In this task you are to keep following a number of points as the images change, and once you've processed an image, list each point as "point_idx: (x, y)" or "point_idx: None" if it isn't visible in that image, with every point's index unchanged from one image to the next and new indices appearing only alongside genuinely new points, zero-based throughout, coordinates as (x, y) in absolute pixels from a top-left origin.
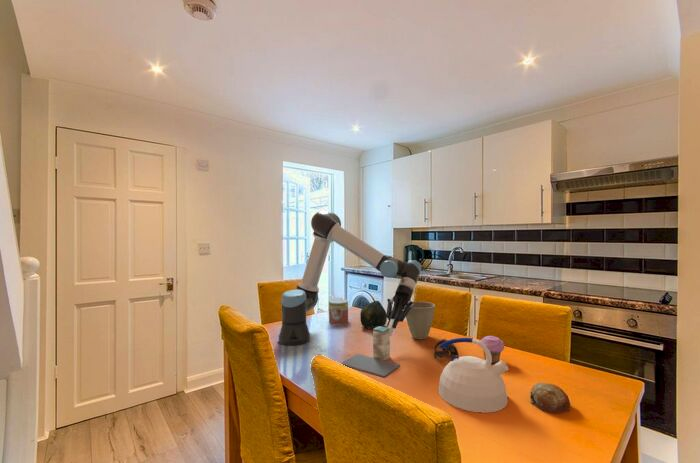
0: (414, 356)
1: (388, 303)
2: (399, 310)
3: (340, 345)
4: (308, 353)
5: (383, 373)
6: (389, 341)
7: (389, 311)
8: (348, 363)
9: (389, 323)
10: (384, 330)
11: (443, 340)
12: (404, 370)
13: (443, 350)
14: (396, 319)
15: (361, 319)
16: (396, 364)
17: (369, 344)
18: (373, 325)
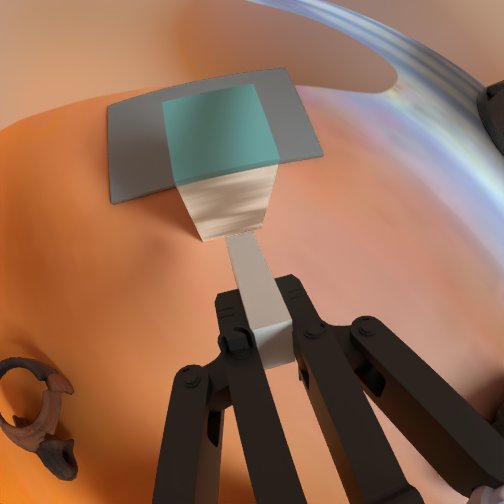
0: (129, 335)
1: (498, 445)
2: (254, 467)
3: (439, 183)
4: (414, 78)
5: (118, 112)
6: (191, 215)
7: (397, 387)
8: (264, 79)
9: (270, 280)
10: (165, 115)
11: (17, 428)
12: (82, 189)
13: (1, 364)
14: (226, 349)
15: None
16: (121, 191)
17: (391, 285)
18: (497, 421)
